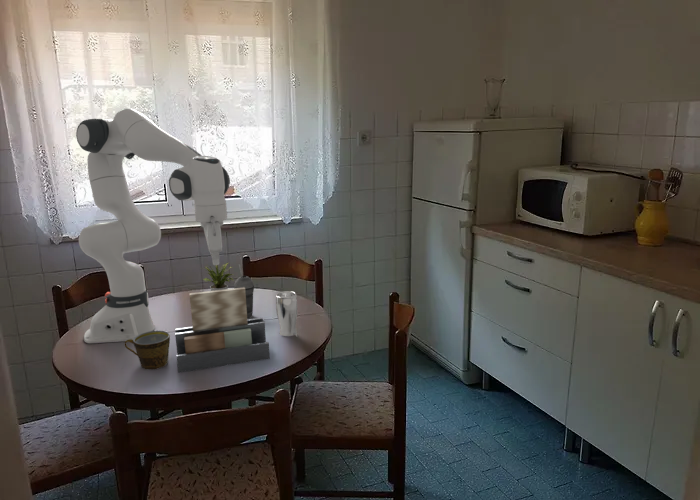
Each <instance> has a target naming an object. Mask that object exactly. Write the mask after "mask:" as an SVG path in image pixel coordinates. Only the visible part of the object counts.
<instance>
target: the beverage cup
mask: <svg viewBox="0 0 700 500" xmlns="http://www.w3.org/2000/svg"><path fill="white" fill-rule="evenodd" d="M238 268H239V273H240V276H239V277H238V278H236V279H235V282H234V287H233V289H234V288H243V287H245V294H246V308H247V320H248V319H252V317H253V315H254V314H253V312H254V292H255V291H254V289H255V285H254V281H253V279H252V278H251V277H249V276H247V275H243V273H242V266H241V264H240V263H239V264H238Z"/></svg>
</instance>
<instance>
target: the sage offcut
mask: <svg viewBox="0 0 700 500" xmlns="http://www.w3.org/2000/svg"><path fill="white" fill-rule="evenodd" d="M224 339H225V348H229V347H236V346H243V345H250V344H252V337H251V329H250V328H248V329H241V330H233V331H226V332H224Z"/></svg>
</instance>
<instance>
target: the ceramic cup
mask: <svg viewBox="0 0 700 500" xmlns="http://www.w3.org/2000/svg"><path fill="white" fill-rule="evenodd" d="M170 334H171V333H170V332H168V331H166V330H165V331H164V330H153V331H150V332H145V333H142V334H140V335H138V336H136V337H135V338H134V339H133V340H132V339H129V340H127V341H124V348H126V349H127V350H129V351H130V352H131V353H133V354H134V355H135V356H137V357H138V360H139V363H140V366H141V368H142V369H144V370H145V371H146V370H147V371H148V370H150V371H152V370H154V371H155V370H159V369H161V368H163V367H166V365H167V364H168V363H169V351H170V350H169V349H170V344H171V343H170V342H171V338H170V337H171V335H170ZM127 343H131V344H133V346H134V349H135V351H134V350H133V349H131V348H130V347H128V345H127Z"/></svg>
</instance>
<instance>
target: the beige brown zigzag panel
mask: <svg viewBox="0 0 700 500" xmlns="http://www.w3.org/2000/svg"><path fill="white" fill-rule="evenodd" d="M189 304H190V312H191V314H190V315H191V325H192V327H193V331H196V330H203V329H211V328H219V327H226V326H234V325H241V324H248V322H247V320H248V319H247V308H246V294H245V287H243V288H234V287H233V288H228V289H225V290H215V291H211V290H208V291H199V292H191V293H190V292H189Z"/></svg>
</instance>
